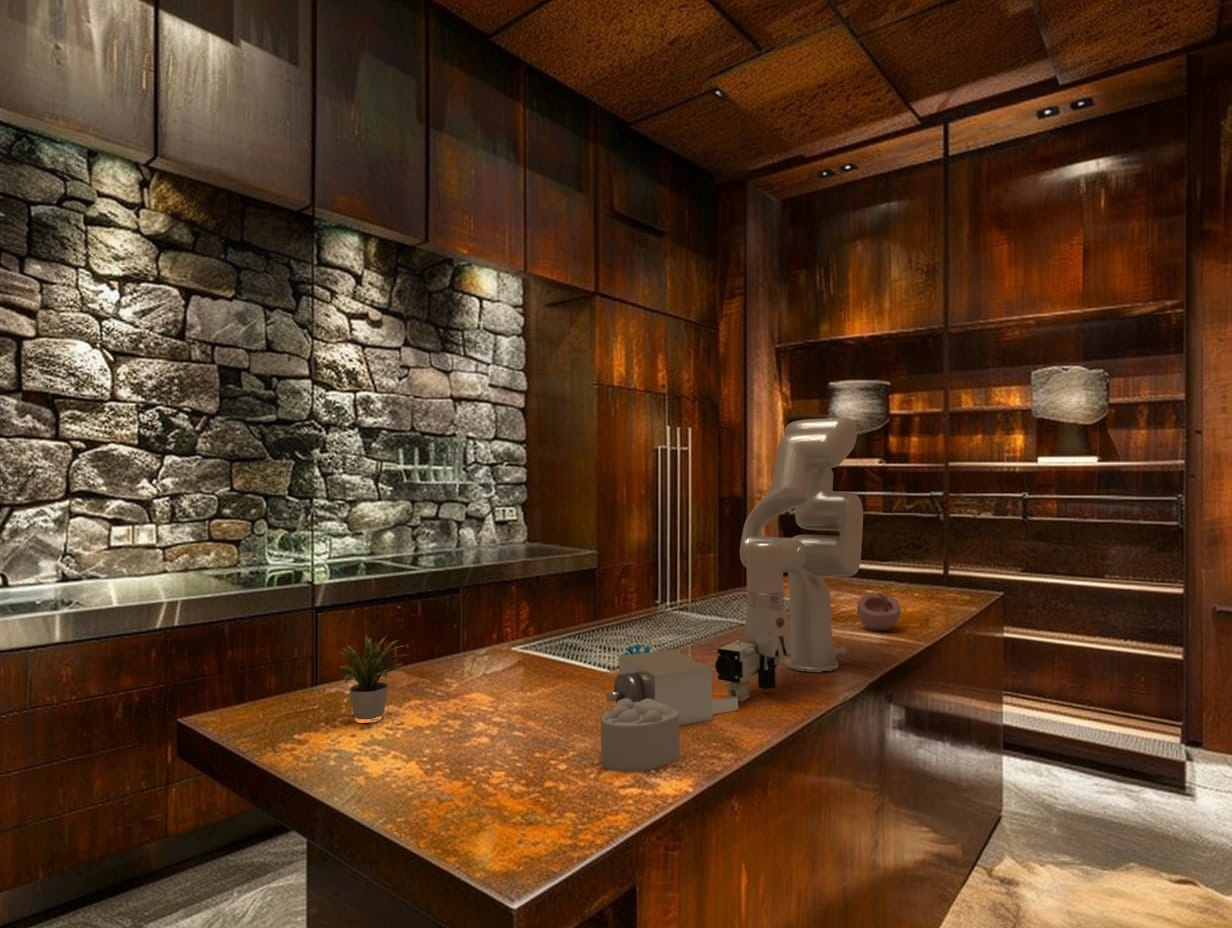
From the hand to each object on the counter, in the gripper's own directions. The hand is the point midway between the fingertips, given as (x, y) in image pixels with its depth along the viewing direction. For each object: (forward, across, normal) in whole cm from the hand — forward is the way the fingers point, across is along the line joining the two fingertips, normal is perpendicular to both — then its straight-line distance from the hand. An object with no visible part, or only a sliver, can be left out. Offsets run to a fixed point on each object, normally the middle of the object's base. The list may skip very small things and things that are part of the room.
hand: (766, 687), depth 148 cm
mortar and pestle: (+2, +36, -67) cm, 77 cm away
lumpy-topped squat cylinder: (+2, -18, +39) cm, 43 cm away
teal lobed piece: (+2, +22, +18) cm, 28 cm away
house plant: (+2, +21, +78) cm, 80 cm away
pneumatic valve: (+2, 0, +7) cm, 7 cm away
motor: (+2, 0, +24) cm, 24 cm away
